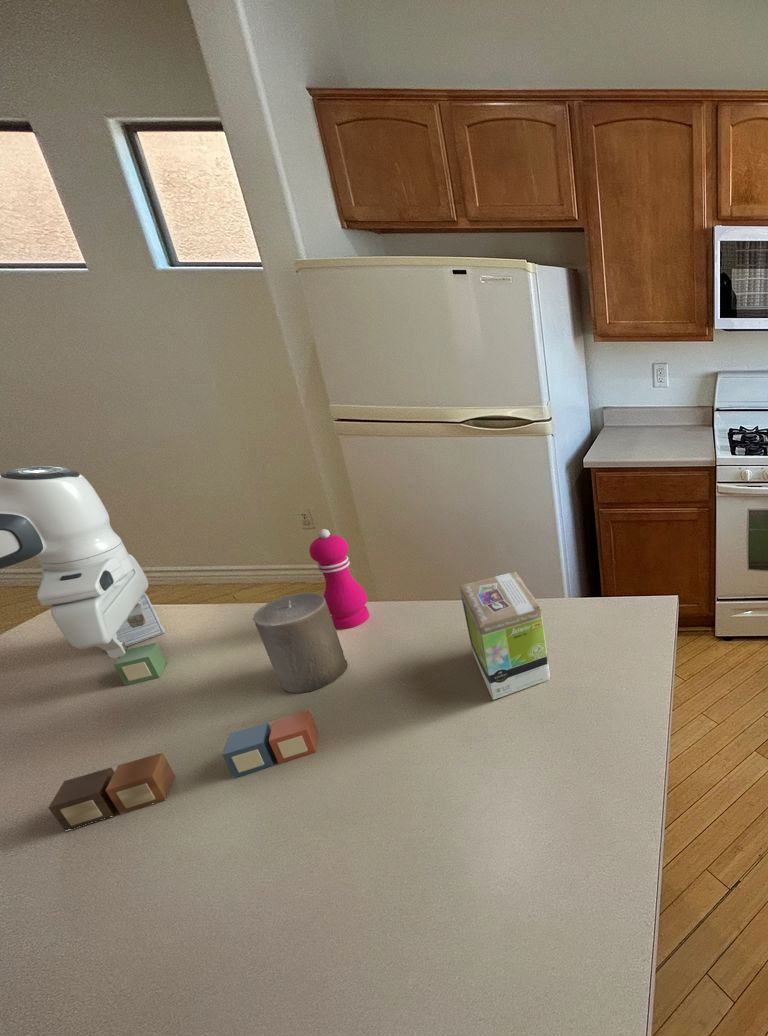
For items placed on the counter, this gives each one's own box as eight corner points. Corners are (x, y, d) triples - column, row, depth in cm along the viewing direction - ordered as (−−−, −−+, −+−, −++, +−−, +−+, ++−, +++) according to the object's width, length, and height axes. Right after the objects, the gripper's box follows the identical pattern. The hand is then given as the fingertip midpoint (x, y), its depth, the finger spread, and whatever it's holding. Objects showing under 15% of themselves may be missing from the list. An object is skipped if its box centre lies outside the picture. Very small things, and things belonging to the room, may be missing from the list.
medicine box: (159, 625, 108) (141, 587, 104) (166, 633, 105) (147, 594, 102) (102, 645, 102) (80, 605, 98) (108, 654, 99) (85, 614, 96)
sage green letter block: (124, 686, 92) (112, 665, 90) (133, 670, 95) (122, 650, 94) (159, 677, 94) (148, 657, 92) (167, 662, 97) (157, 642, 96)
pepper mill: (333, 614, 112) (304, 524, 103) (374, 607, 114) (348, 519, 106) (326, 634, 106) (294, 540, 97) (369, 625, 108) (342, 534, 100)
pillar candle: (353, 652, 101) (330, 581, 94) (338, 687, 92) (312, 612, 86) (291, 662, 98) (263, 590, 92) (270, 699, 89) (237, 622, 83)
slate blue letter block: (233, 779, 75) (221, 755, 74) (239, 756, 79) (228, 733, 77) (273, 766, 77) (262, 743, 76) (277, 744, 81) (267, 721, 79)
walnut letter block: (64, 833, 68) (47, 808, 66) (80, 805, 72) (64, 780, 70) (113, 817, 70) (97, 793, 68) (126, 790, 74) (111, 767, 72)
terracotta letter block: (278, 764, 78) (268, 741, 76) (282, 742, 81) (272, 720, 80) (315, 752, 80) (306, 730, 78) (318, 732, 83) (309, 709, 82)
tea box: (553, 679, 95) (542, 606, 88) (492, 702, 89) (476, 627, 83) (526, 635, 106) (515, 568, 100) (471, 653, 101) (456, 584, 95)
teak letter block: (120, 815, 70) (104, 791, 68) (132, 789, 74) (117, 765, 72) (165, 801, 72) (151, 777, 70) (175, 775, 76) (162, 752, 74)
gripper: (89, 544, 93) (126, 613, 99) (29, 603, 77) (78, 681, 82) (140, 536, 96) (172, 604, 101) (92, 591, 79) (134, 667, 85)
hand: (129, 639), depth 92 cm, fingers open, 8 cm apart
